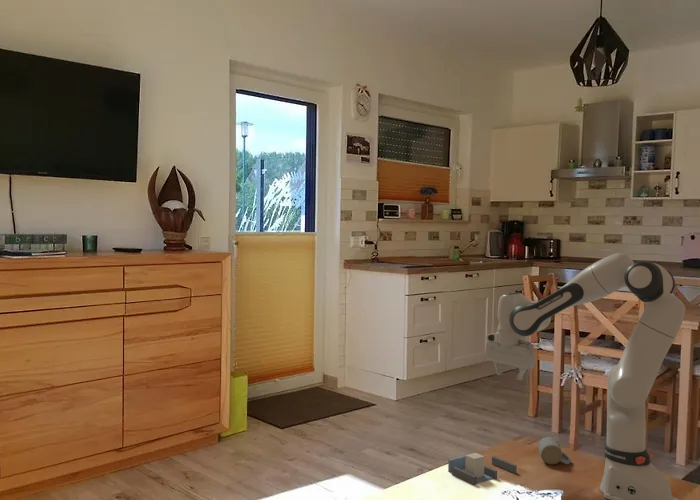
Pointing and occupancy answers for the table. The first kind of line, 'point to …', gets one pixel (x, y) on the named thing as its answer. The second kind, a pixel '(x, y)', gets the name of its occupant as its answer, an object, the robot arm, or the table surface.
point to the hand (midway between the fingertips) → (509, 377)
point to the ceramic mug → (552, 451)
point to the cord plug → (475, 464)
